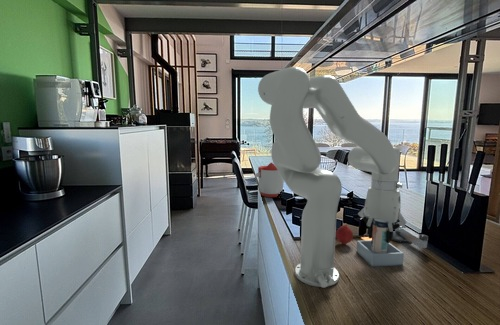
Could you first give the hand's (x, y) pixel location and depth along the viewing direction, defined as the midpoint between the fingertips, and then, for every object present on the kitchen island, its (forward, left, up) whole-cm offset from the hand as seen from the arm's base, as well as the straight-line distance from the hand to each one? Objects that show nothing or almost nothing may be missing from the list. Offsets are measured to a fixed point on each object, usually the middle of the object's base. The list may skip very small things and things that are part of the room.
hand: (379, 238), depth 93 cm
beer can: (0, 0, -5) cm, 5 cm away
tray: (0, 0, -7) cm, 7 cm away
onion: (+11, +7, -7) cm, 15 cm away
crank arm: (+8, -17, -5) cm, 20 cm away
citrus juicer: (+81, +22, -7) cm, 84 cm away
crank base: (+14, -12, -7) cm, 19 cm away
